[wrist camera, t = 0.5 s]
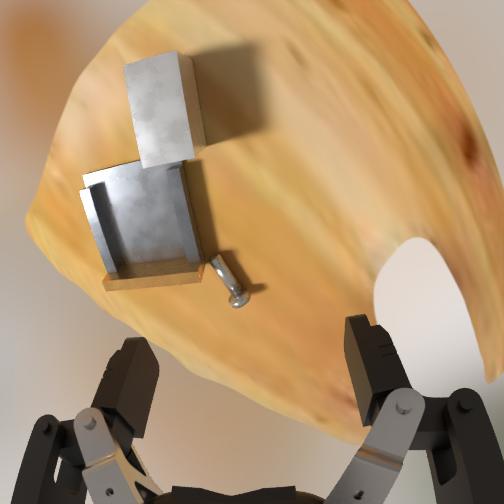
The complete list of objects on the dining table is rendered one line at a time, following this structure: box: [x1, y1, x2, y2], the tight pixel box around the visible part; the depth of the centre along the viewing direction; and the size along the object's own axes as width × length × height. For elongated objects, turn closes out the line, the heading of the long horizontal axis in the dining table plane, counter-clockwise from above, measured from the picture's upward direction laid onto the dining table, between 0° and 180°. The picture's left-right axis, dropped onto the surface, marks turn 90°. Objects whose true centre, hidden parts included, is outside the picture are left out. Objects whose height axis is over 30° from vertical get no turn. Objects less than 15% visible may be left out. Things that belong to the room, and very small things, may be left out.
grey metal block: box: [123, 50, 207, 169], centre depth 26 cm, size 10×5×7 cm, turn 8°
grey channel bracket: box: [80, 160, 205, 291], centre depth 34 cm, size 14×13×4 cm
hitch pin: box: [208, 253, 251, 308], centre depth 38 cm, size 7×3×3 cm, turn 28°
